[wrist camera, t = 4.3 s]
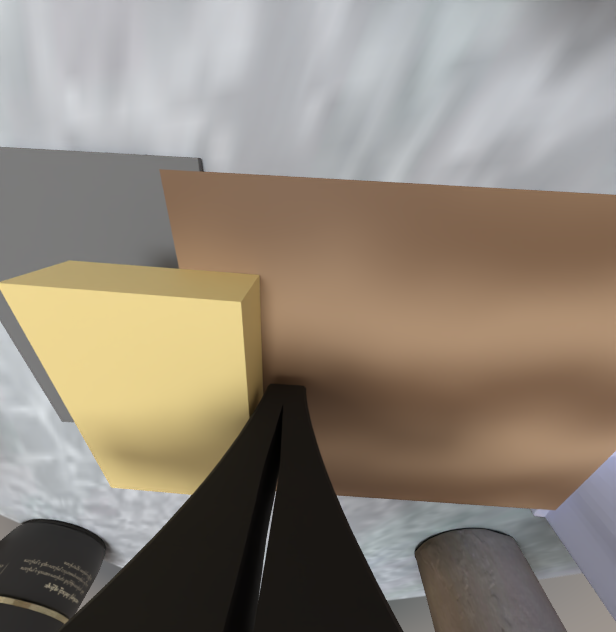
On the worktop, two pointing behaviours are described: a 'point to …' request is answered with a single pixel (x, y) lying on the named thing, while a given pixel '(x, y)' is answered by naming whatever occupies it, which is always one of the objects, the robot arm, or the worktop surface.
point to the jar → (46, 574)
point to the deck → (426, 325)
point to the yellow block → (147, 363)
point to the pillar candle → (482, 585)
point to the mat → (80, 221)
